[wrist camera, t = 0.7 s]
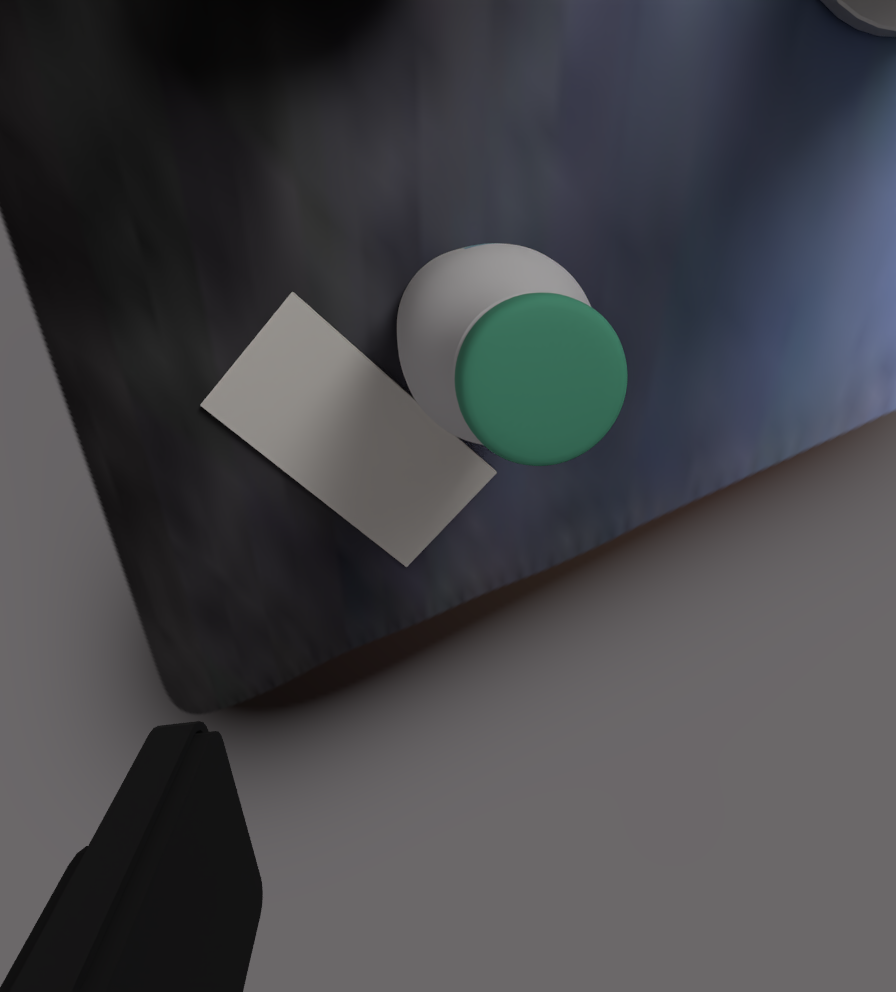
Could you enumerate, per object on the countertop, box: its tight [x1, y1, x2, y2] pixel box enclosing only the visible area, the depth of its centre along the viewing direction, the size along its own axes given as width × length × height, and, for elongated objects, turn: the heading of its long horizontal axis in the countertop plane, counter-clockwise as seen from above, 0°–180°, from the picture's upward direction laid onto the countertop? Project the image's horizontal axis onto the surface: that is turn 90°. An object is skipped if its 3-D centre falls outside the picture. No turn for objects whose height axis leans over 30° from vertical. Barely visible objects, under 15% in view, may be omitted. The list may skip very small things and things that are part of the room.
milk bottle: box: [397, 243, 627, 466], centre depth 27 cm, size 8×8×20 cm
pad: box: [200, 292, 497, 567], centre depth 37 cm, size 8×15×1 cm, turn 48°
